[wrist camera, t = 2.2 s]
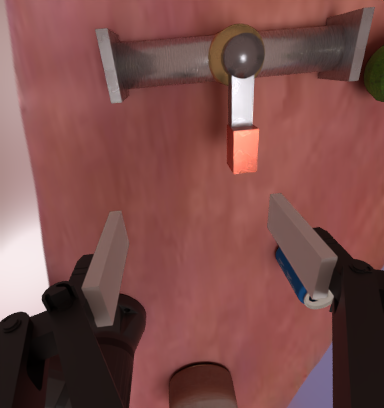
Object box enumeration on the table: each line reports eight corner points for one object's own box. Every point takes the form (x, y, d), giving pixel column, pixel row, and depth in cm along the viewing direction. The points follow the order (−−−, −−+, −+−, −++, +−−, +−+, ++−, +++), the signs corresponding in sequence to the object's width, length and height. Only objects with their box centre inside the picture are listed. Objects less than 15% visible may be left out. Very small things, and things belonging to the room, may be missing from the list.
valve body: (117, 96, 35) (107, 103, 29) (105, 36, 32) (91, 29, 25) (328, 77, 36) (361, 80, 30) (338, 17, 33) (378, 6, 27)
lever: (220, 36, 26) (227, 32, 23) (258, 33, 26) (270, 29, 23) (222, 164, 33) (228, 174, 30) (252, 160, 33) (261, 171, 30)
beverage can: (273, 240, 50) (302, 287, 40) (306, 234, 50) (343, 279, 40) (274, 264, 53) (300, 314, 43) (304, 259, 53) (338, 306, 43)
